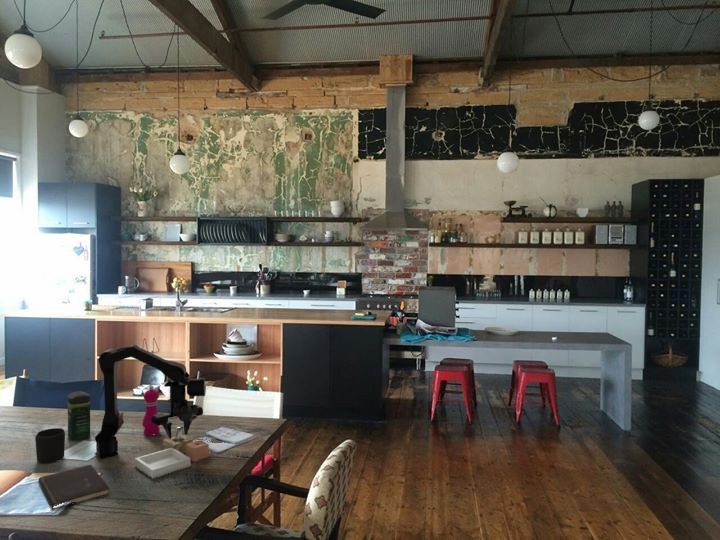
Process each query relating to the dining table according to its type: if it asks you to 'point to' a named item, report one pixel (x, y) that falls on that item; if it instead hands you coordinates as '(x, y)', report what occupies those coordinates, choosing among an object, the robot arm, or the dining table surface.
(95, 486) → the hardcover book
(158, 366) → the robot arm
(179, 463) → the tray
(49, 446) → the pen holder
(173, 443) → the oak block
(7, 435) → the dining table surface
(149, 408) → the pepper mill
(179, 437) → the cylinder
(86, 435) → the coffee jar
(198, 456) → the rust block
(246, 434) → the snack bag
